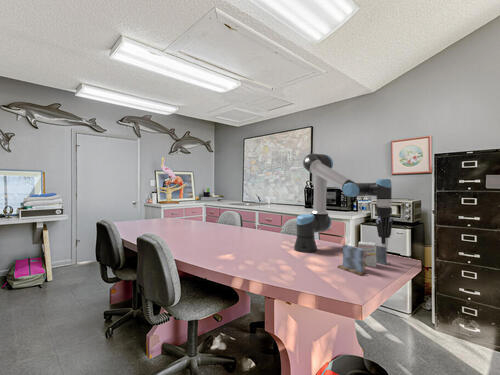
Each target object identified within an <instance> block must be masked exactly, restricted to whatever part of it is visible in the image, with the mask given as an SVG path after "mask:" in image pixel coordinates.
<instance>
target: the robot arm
mask: <svg viewBox="0 0 500 375" xmlns="http://www.w3.org/2000/svg"><path fill="white" fill-rule="evenodd" d="M302 165H303V167H304V169H305V170H307V171H308V172H309V173H311V174H312V175H313V208H312V209H313V210H312V211H311V212H310V213H303V214H302V213H301V214H299V215H298V216H296V239H295V242H294V245H293V249H294V251H297V252H301V253H314V252H317V251H318V246H317V243H316V240H315V234H316V233H322V232H326V231H328V230H329V229H330V228H331V226H332V219H331V217H330V215H329V212H328V210H327V187H328V186H327V184H328V183H330V184H331V185H333V186H334V187H336V188H338V189H339V190H341V191H342V192H343V195H344V196H345V197H348V198H349V197H350V198H354V197H376V198H375V199H376V201H375V202H376V203H375V204H376V206H377V207H376V214H377V215H378V216H377V219H375V220H374V221H375V222H374V223H375V225H376V229H377V235H378V237H379V238H381V239H380V240H381V247H385V248H387V251H388V250H389V239H390V238H391V235H392V229H393V223H394V222H393V221H394V218H391V215H392V214H393V208H392V206H393V205H392V204H393V200H392V197H393V196H392V188H393V185H392V180H391V179H389V178H377V179H375V180H376V181H375V182H355V181H353V180H352V179H350V178H348V177H346V176H344V175H343V174H341V173H339V172H338V171H336V170H334V169H333V167H334V162H333V159H332V157H331V156H329V155H328V154H323V153H321V154H320V153H309V154H307V155H305V156H304V157H303V160H302Z"/></svg>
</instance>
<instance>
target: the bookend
mask: <svg viewBox="0 0 500 375" xmlns="http://www.w3.org/2000/svg"><path fill="white" fill-rule="evenodd" d="M387 251H388V250H387V248H385V247H382V245H376V264H380V265H384V266H387V265H390V264H391V263H390V262H388V261H387Z"/></svg>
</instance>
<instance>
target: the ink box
mask: <svg viewBox="0 0 500 375" xmlns="http://www.w3.org/2000/svg"><path fill="white" fill-rule="evenodd" d="M357 246H358V247H357V248H361V249H364V250H365V267H372V268H377V263H376V246H377V243H376V242H370V241H358V244H357Z"/></svg>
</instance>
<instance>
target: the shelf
mask: <svg viewBox="0 0 500 375" xmlns="http://www.w3.org/2000/svg"><path fill="white" fill-rule="evenodd" d="M337 268H338V269H340V270H342V271H346V272H348V273H352V274H355V275H356V276H359V277H360V276H365V275H368V273H367V272H365V270H366V266H365V250H364V249H361V248H358V247H357V246H352V245H349V244H343V245H342V264H340V265H337Z"/></svg>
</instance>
